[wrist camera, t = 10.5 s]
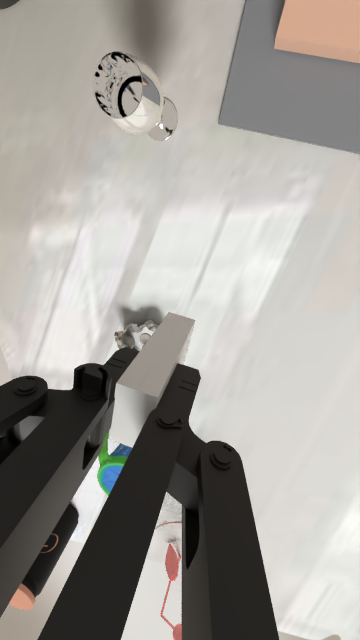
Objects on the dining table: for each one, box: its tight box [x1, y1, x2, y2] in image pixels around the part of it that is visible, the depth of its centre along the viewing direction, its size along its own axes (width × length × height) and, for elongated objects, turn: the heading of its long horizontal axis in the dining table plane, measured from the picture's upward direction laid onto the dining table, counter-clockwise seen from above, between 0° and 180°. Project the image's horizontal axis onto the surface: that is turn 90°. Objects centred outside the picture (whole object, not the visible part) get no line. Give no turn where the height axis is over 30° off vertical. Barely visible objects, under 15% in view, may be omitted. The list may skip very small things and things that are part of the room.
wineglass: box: [93, 52, 178, 141], centre depth 30 cm, size 6×6×12 cm
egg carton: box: [114, 320, 159, 349], centre depth 47 cm, size 11×8×4 cm
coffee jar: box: [9, 504, 78, 610], centre depth 68 cm, size 11×11×18 cm
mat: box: [218, 0, 360, 154], centre depth 28 cm, size 21×18×1 cm
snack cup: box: [97, 431, 132, 496], centre depth 53 cm, size 16×10×10 cm
